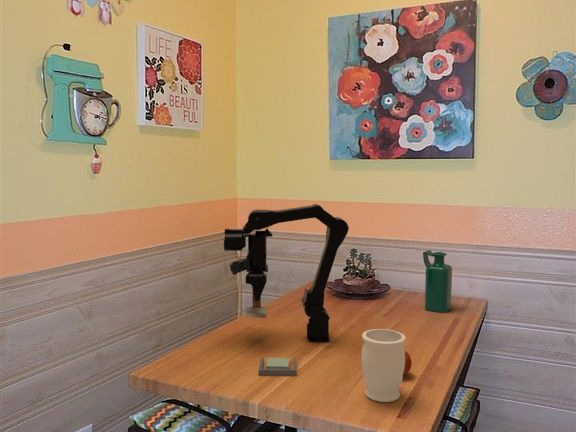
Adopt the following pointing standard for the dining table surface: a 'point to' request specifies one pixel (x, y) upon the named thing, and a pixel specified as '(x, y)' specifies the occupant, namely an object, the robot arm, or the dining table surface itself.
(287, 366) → the tile
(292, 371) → the frame
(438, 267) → the pitcher
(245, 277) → the robot arm
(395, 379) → the jar
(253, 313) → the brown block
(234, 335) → the dining table surface
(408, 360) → the fruit
